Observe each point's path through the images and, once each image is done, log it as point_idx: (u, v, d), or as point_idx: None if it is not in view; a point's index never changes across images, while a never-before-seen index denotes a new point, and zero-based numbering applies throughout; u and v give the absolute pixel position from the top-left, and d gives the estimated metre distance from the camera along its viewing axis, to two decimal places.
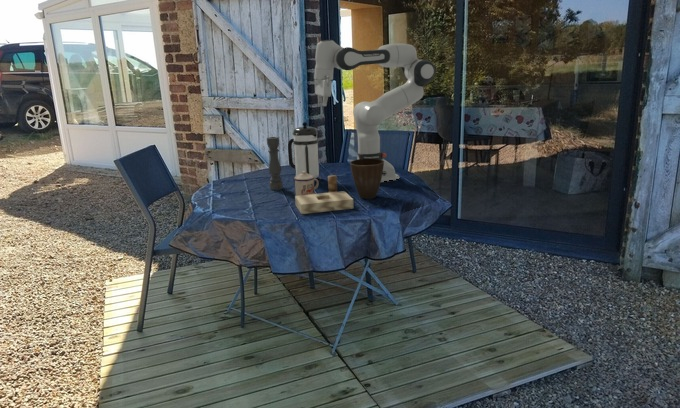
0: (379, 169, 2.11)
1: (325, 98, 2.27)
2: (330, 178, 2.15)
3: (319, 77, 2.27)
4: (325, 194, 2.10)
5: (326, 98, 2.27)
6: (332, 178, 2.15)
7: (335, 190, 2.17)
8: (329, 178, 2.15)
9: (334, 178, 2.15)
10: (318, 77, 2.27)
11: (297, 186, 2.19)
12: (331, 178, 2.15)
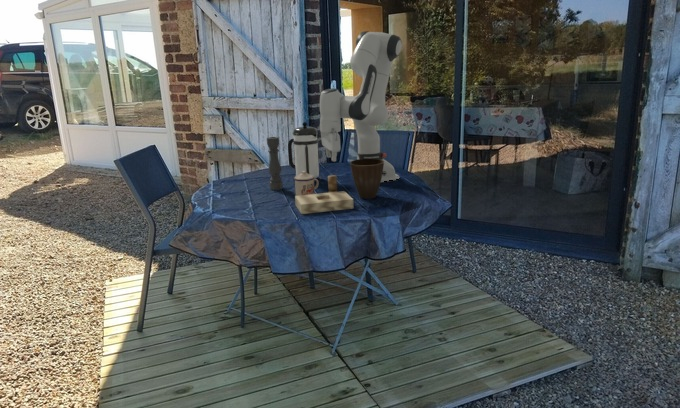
0: (379, 169, 2.11)
1: (334, 153, 2.07)
2: (330, 178, 2.15)
3: (326, 130, 2.07)
4: (325, 194, 2.10)
5: (335, 153, 2.07)
6: (332, 178, 2.15)
7: (335, 190, 2.17)
8: (329, 178, 2.15)
9: (334, 178, 2.15)
10: (324, 130, 2.07)
11: (297, 186, 2.19)
12: (331, 178, 2.15)
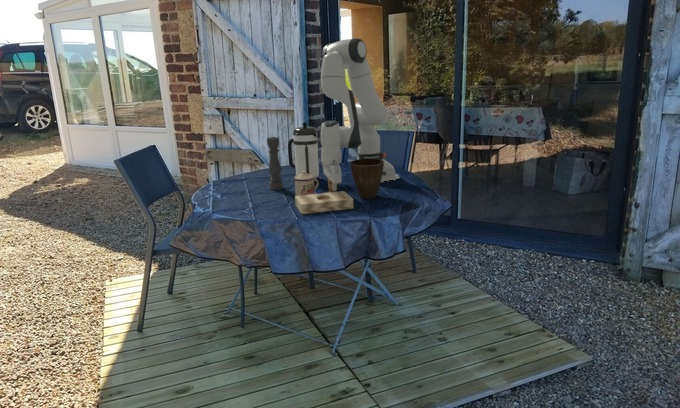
0: (379, 169, 2.11)
1: None
2: None
3: (327, 162, 2.11)
4: (325, 194, 2.10)
5: None
6: None
7: None
8: None
9: None
10: (326, 162, 2.11)
11: (297, 186, 2.19)
12: None
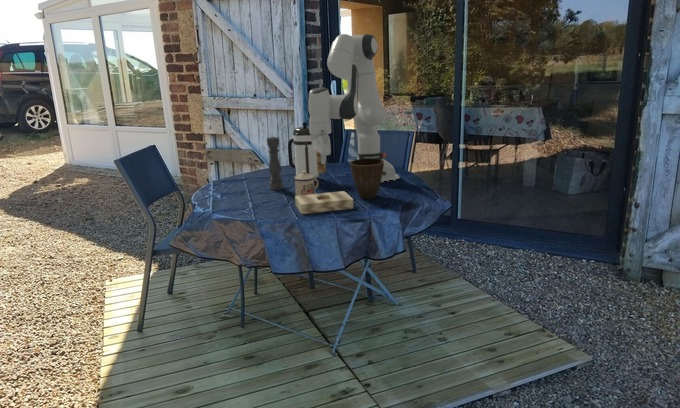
0: (379, 169, 2.11)
1: (323, 155, 1.96)
2: None
3: (315, 132, 1.94)
4: (325, 194, 2.10)
5: (324, 155, 1.96)
6: None
7: (324, 164, 2.00)
8: None
9: None
10: (314, 132, 1.94)
11: (297, 186, 2.19)
12: None
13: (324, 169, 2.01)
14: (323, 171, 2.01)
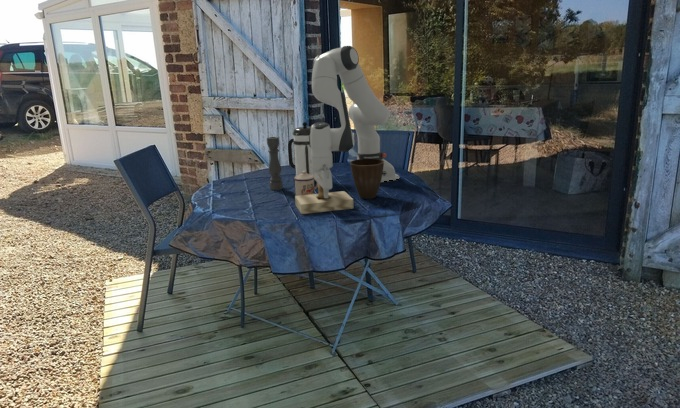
0: (379, 169, 2.11)
1: (326, 190, 1.98)
2: (320, 186, 2.02)
3: (317, 167, 1.98)
4: None
5: (327, 190, 1.98)
6: None
7: (326, 198, 2.04)
8: (319, 186, 2.03)
9: None
10: (316, 167, 1.98)
11: (297, 186, 2.19)
12: None
13: None
14: None
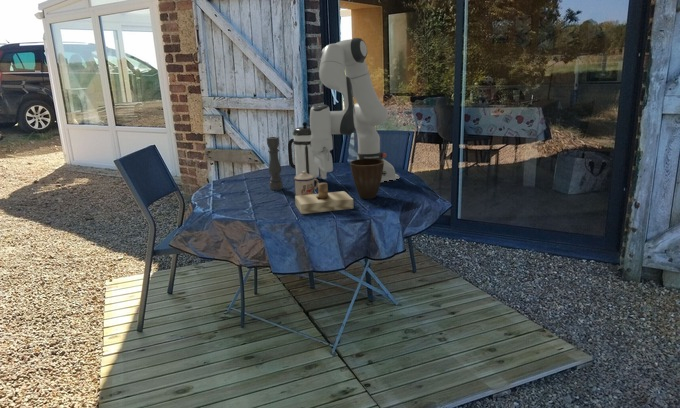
0: (379, 169, 2.11)
1: (324, 171, 2.00)
2: (320, 186, 2.02)
3: (317, 149, 1.96)
4: None
5: None
6: (322, 186, 2.02)
7: (326, 198, 2.04)
8: (319, 186, 2.03)
9: (324, 186, 2.02)
10: (316, 149, 1.96)
11: (297, 186, 2.19)
12: (321, 186, 2.02)
13: None
14: None
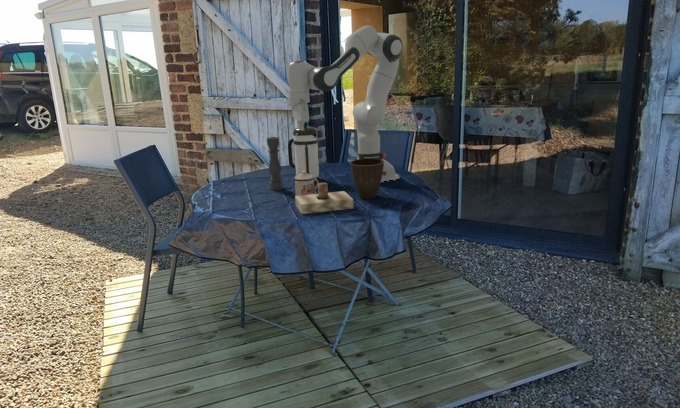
0: (379, 169, 2.11)
1: (301, 122, 2.15)
2: (320, 186, 2.02)
3: (294, 101, 2.11)
4: None
5: (302, 122, 2.15)
6: (322, 186, 2.02)
7: (326, 198, 2.04)
8: (319, 186, 2.03)
9: (324, 186, 2.02)
10: (293, 102, 2.11)
11: (297, 186, 2.19)
12: (321, 186, 2.02)
13: None
14: None
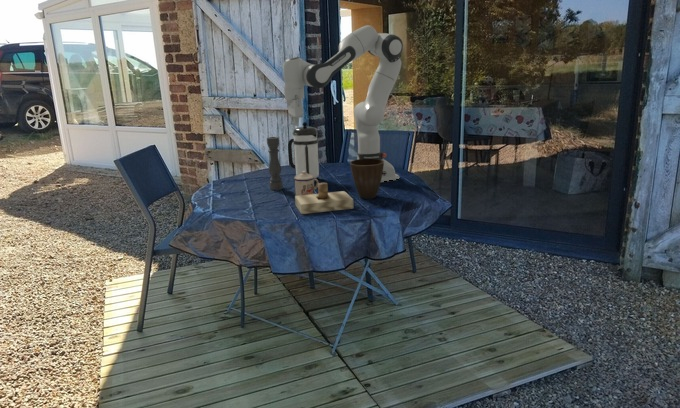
0: (379, 169, 2.11)
1: (296, 118, 2.20)
2: (320, 186, 2.02)
3: (289, 97, 2.16)
4: None
5: (297, 118, 2.20)
6: (322, 186, 2.02)
7: (326, 198, 2.04)
8: (319, 186, 2.03)
9: (324, 186, 2.02)
10: (288, 97, 2.17)
11: (297, 186, 2.19)
12: (321, 186, 2.02)
13: None
14: None
